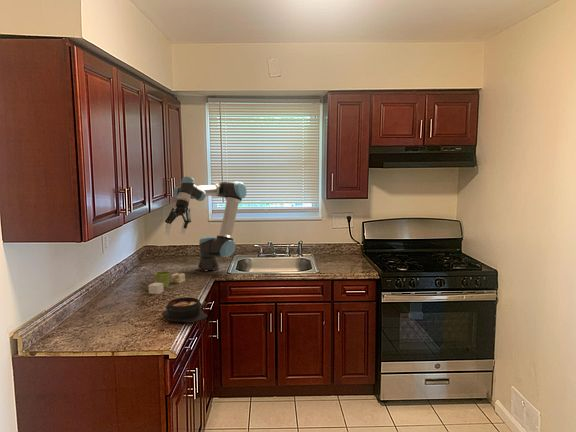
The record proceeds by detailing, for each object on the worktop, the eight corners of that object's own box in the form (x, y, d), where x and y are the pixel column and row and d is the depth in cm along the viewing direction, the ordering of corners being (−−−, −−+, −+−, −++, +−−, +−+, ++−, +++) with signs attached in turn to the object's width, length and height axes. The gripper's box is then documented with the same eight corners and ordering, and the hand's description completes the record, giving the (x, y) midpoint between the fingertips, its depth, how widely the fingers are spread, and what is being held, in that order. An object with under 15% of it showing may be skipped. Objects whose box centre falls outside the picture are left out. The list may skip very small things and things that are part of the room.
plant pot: (163, 283, 277) (162, 270, 276) (174, 285, 273) (173, 272, 272) (151, 287, 270) (151, 273, 269) (162, 289, 265) (162, 275, 264)
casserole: (152, 318, 214) (151, 301, 213) (182, 308, 229) (182, 292, 228) (186, 329, 199) (185, 311, 198) (216, 318, 214) (216, 301, 213)
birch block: (171, 282, 280) (171, 275, 280) (177, 280, 286) (176, 272, 285) (180, 283, 278) (179, 275, 278) (185, 281, 284) (184, 273, 284)
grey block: (148, 293, 257) (148, 285, 257) (155, 290, 263) (154, 282, 262) (157, 294, 255) (157, 285, 255) (163, 291, 261) (163, 283, 260)
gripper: (164, 199, 276) (155, 232, 269) (193, 197, 262) (184, 231, 255) (173, 204, 281) (165, 236, 275) (201, 202, 268) (193, 235, 261)
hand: (174, 233), depth 265 cm, fingers open, 13 cm apart
